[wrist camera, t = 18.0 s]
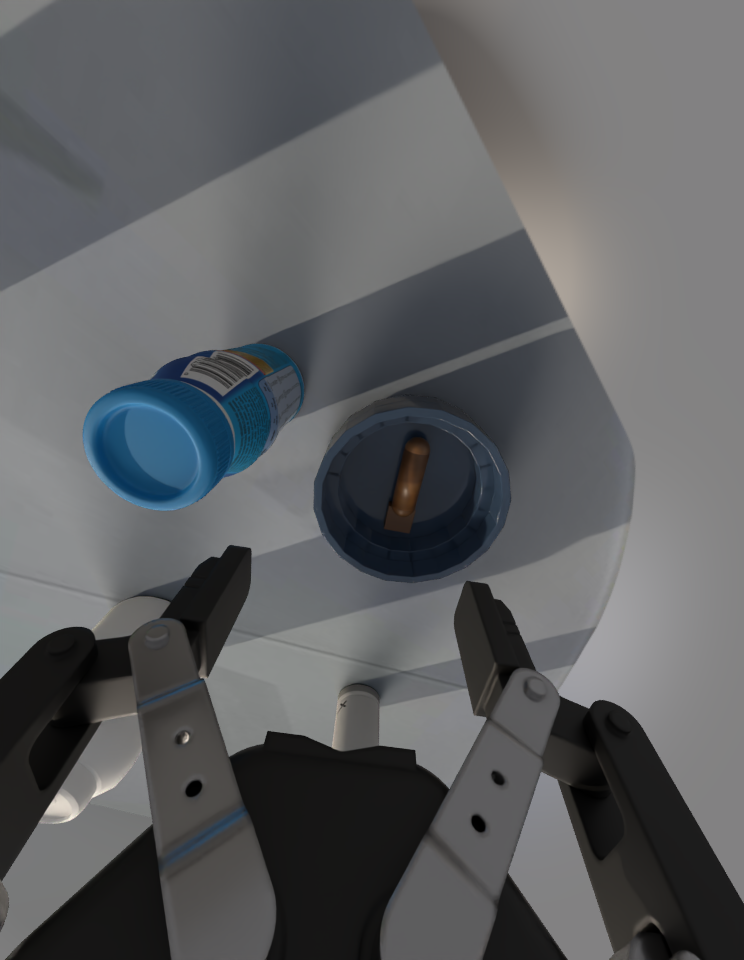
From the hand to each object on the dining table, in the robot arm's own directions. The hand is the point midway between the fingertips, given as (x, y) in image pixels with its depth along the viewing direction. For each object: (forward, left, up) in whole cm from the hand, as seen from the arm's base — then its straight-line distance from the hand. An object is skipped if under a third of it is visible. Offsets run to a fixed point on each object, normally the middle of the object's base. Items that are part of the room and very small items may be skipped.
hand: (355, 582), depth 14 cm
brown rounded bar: (-2, +8, -26) cm, 27 cm away
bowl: (-2, +8, -26) cm, 27 cm away
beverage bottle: (+10, -5, -26) cm, 29 cm away
